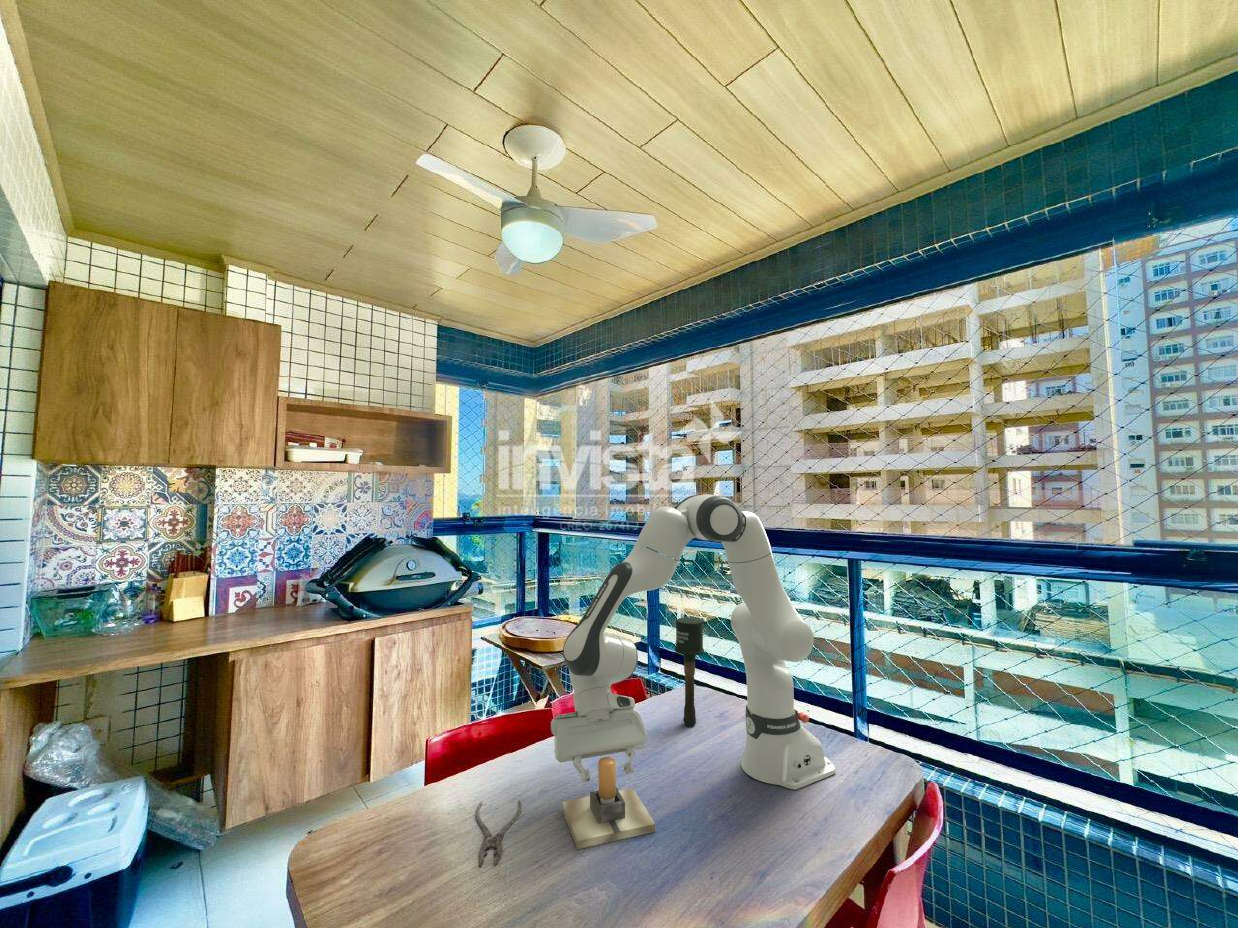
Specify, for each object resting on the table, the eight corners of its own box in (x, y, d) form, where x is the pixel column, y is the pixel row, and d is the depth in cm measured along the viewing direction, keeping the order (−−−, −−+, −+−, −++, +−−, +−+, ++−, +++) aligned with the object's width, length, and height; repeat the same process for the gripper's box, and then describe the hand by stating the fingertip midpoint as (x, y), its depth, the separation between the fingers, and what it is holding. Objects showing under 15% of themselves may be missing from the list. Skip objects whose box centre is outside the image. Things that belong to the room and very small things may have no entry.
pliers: (520, 794, 112) (533, 855, 93) (520, 798, 112) (533, 860, 93) (474, 802, 109) (479, 866, 90) (474, 806, 109) (478, 871, 90)
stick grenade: (673, 717, 152) (673, 616, 154) (702, 718, 152) (702, 616, 154) (676, 730, 144) (675, 623, 146) (706, 731, 144) (706, 623, 145)
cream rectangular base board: (632, 794, 113) (632, 773, 113) (655, 831, 101) (655, 807, 101) (562, 808, 108) (562, 786, 108) (577, 849, 96) (577, 824, 96)
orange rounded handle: (613, 804, 107) (612, 755, 107) (618, 814, 103) (617, 764, 104) (596, 808, 105) (596, 758, 106) (601, 818, 102) (601, 767, 103)
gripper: (551, 709, 109) (561, 780, 99) (640, 697, 116) (657, 763, 106) (547, 721, 113) (556, 791, 103) (633, 709, 120) (649, 774, 110)
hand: (608, 777), depth 105 cm, fingers open, 8 cm apart
